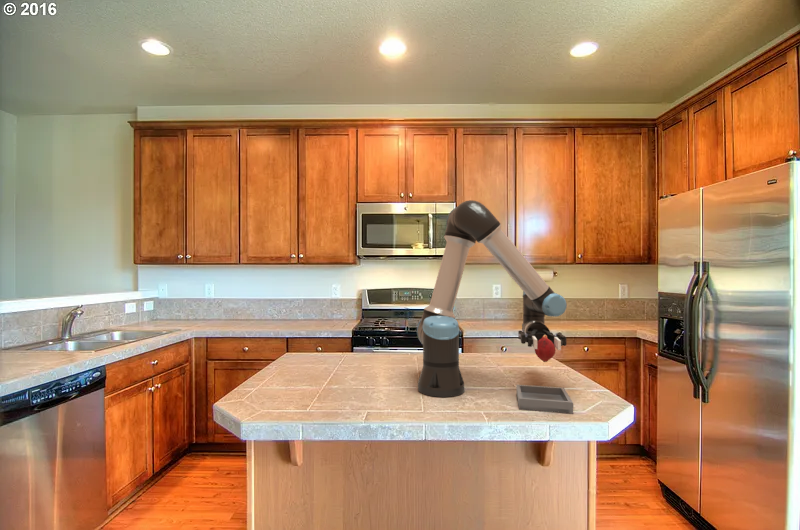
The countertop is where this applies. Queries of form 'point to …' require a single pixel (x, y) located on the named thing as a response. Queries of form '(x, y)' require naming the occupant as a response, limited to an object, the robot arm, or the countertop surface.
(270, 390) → the countertop surface
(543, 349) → the onion
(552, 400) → the bin
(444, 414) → the countertop surface
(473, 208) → the robot arm
